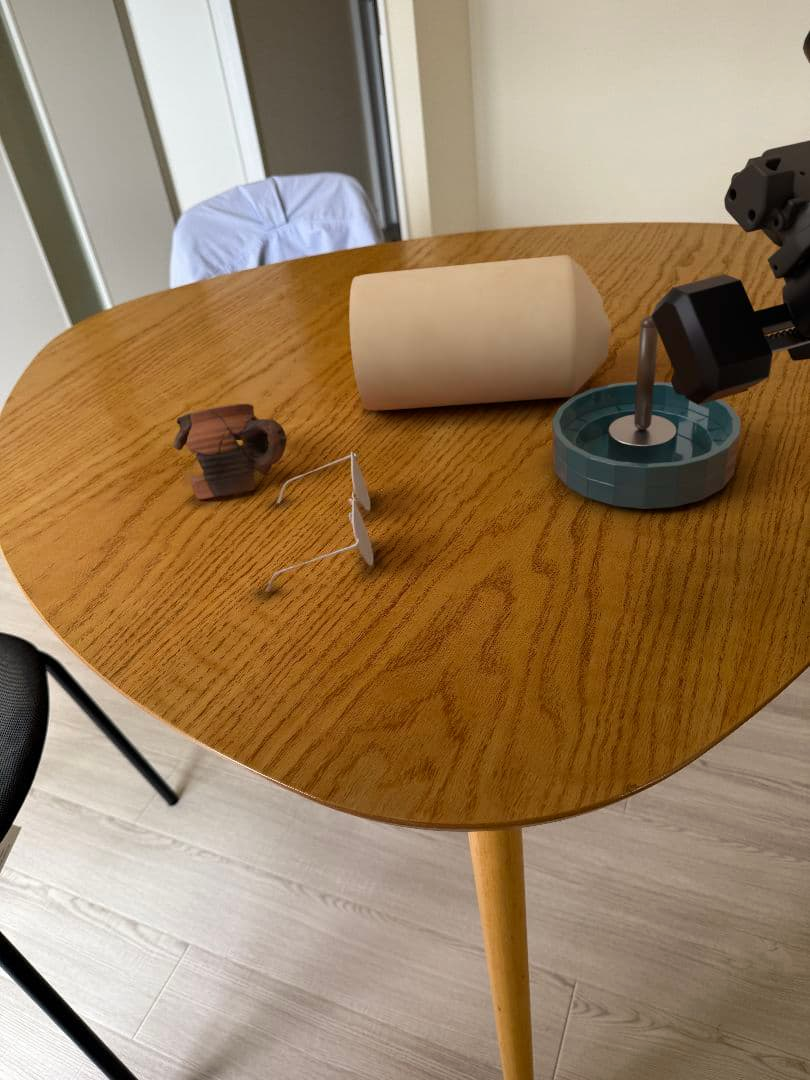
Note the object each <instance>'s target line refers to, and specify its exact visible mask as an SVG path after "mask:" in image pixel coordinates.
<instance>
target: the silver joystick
mask: <svg viewBox="0 0 810 1080" xmlns="http://www.w3.org/2000/svg"><path fill="white" fill-rule="evenodd" d="M651 315H652V314H651ZM651 315H650V314H649V315H646V316H644V317H643V318H642V319H641V321H640V326H639V337H638V339H639V342H638V353H637V354H638V356H637V373H636V382H637V385H636V401H635V415H629V416H624V417H621V418H619V419H617V420H615V421H614V422H612V423H611V425H610V426H609V430H608V454H607V459H611V460H615V461H619V462H631V463H643V464H653V463H666V462H673V461H674V451H675V441H676V427H675V425H674V424H673V423H672V422H671V421H669V420H667V419H665V418H662V417H659V416H655V415H652V407H653V394H654V382H656V381H655V380H656V379H655V378H656V367H657V353H658V343H659V342H658V340H659V333H658V330H657V328H656V325H655V323H654V321H653V318H652V316H651Z"/></svg>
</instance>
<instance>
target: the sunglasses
mask: <svg viewBox="0 0 810 1080" xmlns="http://www.w3.org/2000/svg"><path fill="white" fill-rule="evenodd" d="M349 459H350V462H351V463H350V464H351V465H350V466H351V467H350V468H351V469H350V471H351V472H350V473H351V480H352V481H351V483H352V487H353V490H352V491H351V498H349V499H348V503H349V504H350V506H351V512H349V514H348V519H349V522H350V523H351V526H352V530H353V536H354V538H355V543H354V544H352V545H349V546H347V547H345V548H342V549H339V550H336V551H334V552H330V553H328V554H325V555H323V556H319V557H317V558H314V559H311V560H308V561H305V562H303V563H300V564H297V565H293V566H290V567H287V568H284V569H281V570H279V571H276V572H275V573H274V574H273V575H272V577H271V579H270V580H269V584H268V586H267V588H266V590H265V592H267V593H268V592H270V591H271V589H272V586H273V583H274V580H275V578H276V577H277V576H278V575H279V574H282V573H284V572H288V571H291V570H294V569H296V568H298V567H300V566H303V565H306V564H310V563H314V562H316V561H319V560H323V559H326V558H329V557H332V556H335V555H338V554H342V553H345V552H348V551H350V550H354V549H356V548H358V549H359V552H360V554H361V556H362V557H363V559H364V561H365V563H366V564H367V565H368V566H369V567H372V566H373V565H374V553H373V548H372V544H371V540H370V537H369V533H368V530H367V527H366V525H365V521H364V519H363V516H362V513H361V511H360V508H359V506H358V505H357V504H359V505H360V506H361V507H362V508H363V509H364V511H366V512H370V510H371V500H370V496H369V492H368V488H367V485H366V482H365V479H364V475H363V473H362V471H361V467H360V465H359V462H358V460H357V459H358V456H357V453H354V452H353V451H350V454H349V455H347V456H345V457H342V458H340V459H338V460H335V461H332V462H330V463H327V464H325V465H323V466H321V467H319V468H316V469H314V470H311V471H309V472H306V473H304V474H300V475H297V476H295V477H293V478H291V479H288V480H287V481H286V482H285V483H284V484H283V486H282V487H281V490H280V493H279V496H278V499H277V501H276V504H281V501H282V498H283V494H284V490H285V488H286V486H287V485H288V484H289V483H291V482H294V481H295V480H298V479H300V478H303V477H304V476H305V475H306V476H307V475H308V474H311V473H314V472H317V471H320V470H321V469H324V468H327V467H329V466H332V465H335V464H338V463H340V462H343V461H346V460H349ZM355 497H356V498H357V499H355ZM357 502H358V503H357Z"/></svg>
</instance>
